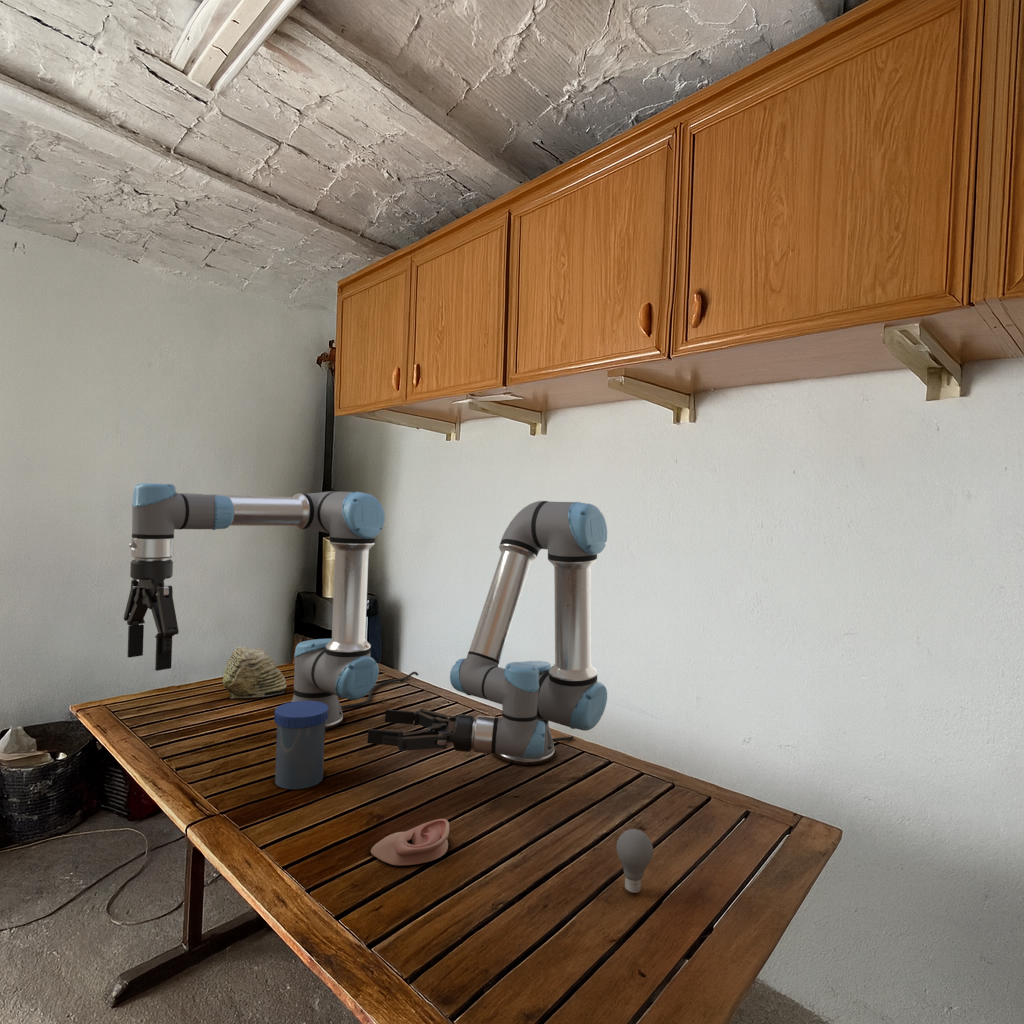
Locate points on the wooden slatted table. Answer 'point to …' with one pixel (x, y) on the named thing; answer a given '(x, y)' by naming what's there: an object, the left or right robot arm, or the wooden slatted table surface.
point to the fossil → (252, 674)
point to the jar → (299, 756)
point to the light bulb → (634, 857)
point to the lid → (301, 714)
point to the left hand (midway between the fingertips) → (148, 662)
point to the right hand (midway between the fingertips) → (377, 725)
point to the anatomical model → (414, 844)
